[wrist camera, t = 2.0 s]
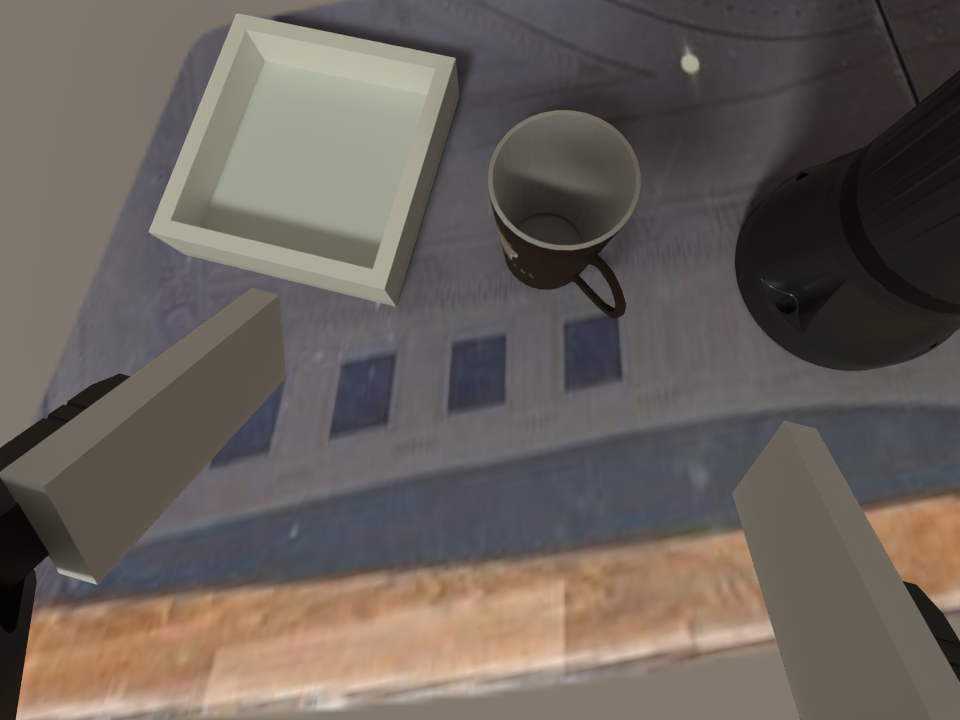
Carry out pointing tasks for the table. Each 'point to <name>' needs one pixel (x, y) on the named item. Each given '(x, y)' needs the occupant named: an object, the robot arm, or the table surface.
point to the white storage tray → (311, 158)
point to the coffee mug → (563, 198)
